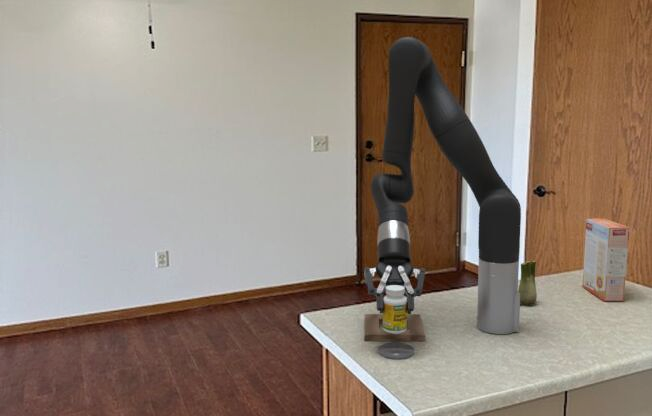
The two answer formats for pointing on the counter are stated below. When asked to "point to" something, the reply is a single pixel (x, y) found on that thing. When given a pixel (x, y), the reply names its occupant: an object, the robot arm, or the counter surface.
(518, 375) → the counter surface
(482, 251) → the robot arm
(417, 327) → the pocket board
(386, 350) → the coaster
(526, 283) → the fennel bulb
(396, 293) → the supplement bottle
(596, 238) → the cracker box
